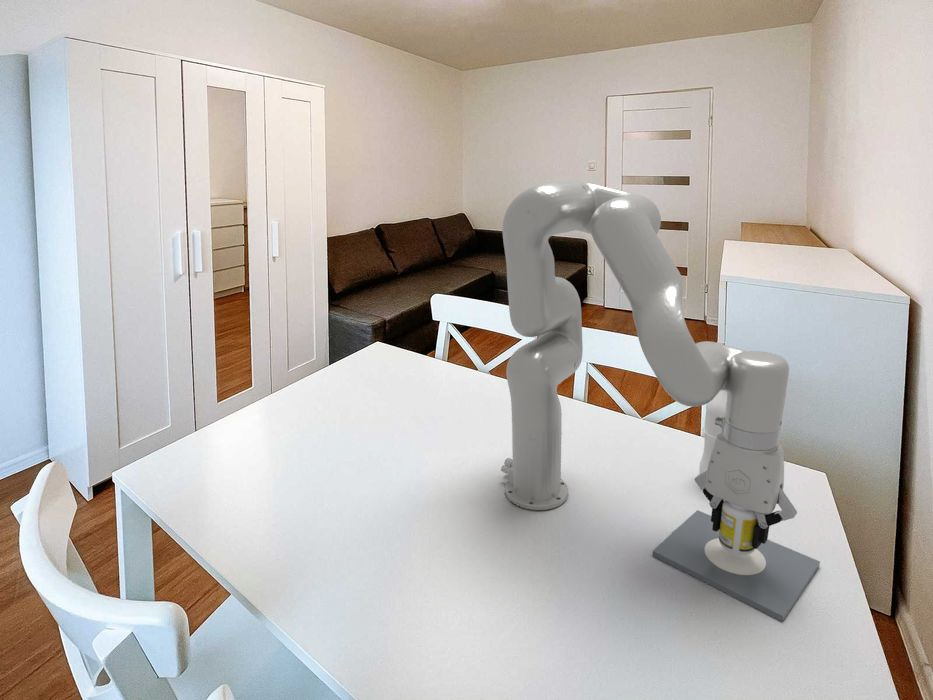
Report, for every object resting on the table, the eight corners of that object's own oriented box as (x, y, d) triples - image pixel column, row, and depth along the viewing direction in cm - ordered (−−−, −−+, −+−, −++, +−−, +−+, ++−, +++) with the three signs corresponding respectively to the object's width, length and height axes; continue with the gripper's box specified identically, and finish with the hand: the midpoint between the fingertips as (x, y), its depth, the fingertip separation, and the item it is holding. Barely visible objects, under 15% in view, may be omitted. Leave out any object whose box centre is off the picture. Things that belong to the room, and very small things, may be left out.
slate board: (652, 555, 91) (652, 550, 91) (696, 514, 101) (697, 509, 101) (782, 621, 77) (783, 615, 77) (819, 566, 87) (820, 560, 87)
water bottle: (741, 494, 107) (757, 375, 99) (702, 491, 108) (714, 373, 101) (731, 475, 114) (745, 362, 106) (695, 473, 115) (706, 361, 107)
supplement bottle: (757, 540, 89) (764, 488, 86) (753, 560, 85) (761, 505, 82) (721, 530, 92) (727, 479, 89) (715, 548, 87) (721, 495, 84)
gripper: (684, 424, 86) (675, 523, 91) (806, 462, 74) (787, 573, 79) (705, 410, 91) (696, 504, 96) (823, 443, 78) (805, 549, 84)
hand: (737, 534), depth 88 cm, fingers closed on supplement bottle, 5 cm apart
